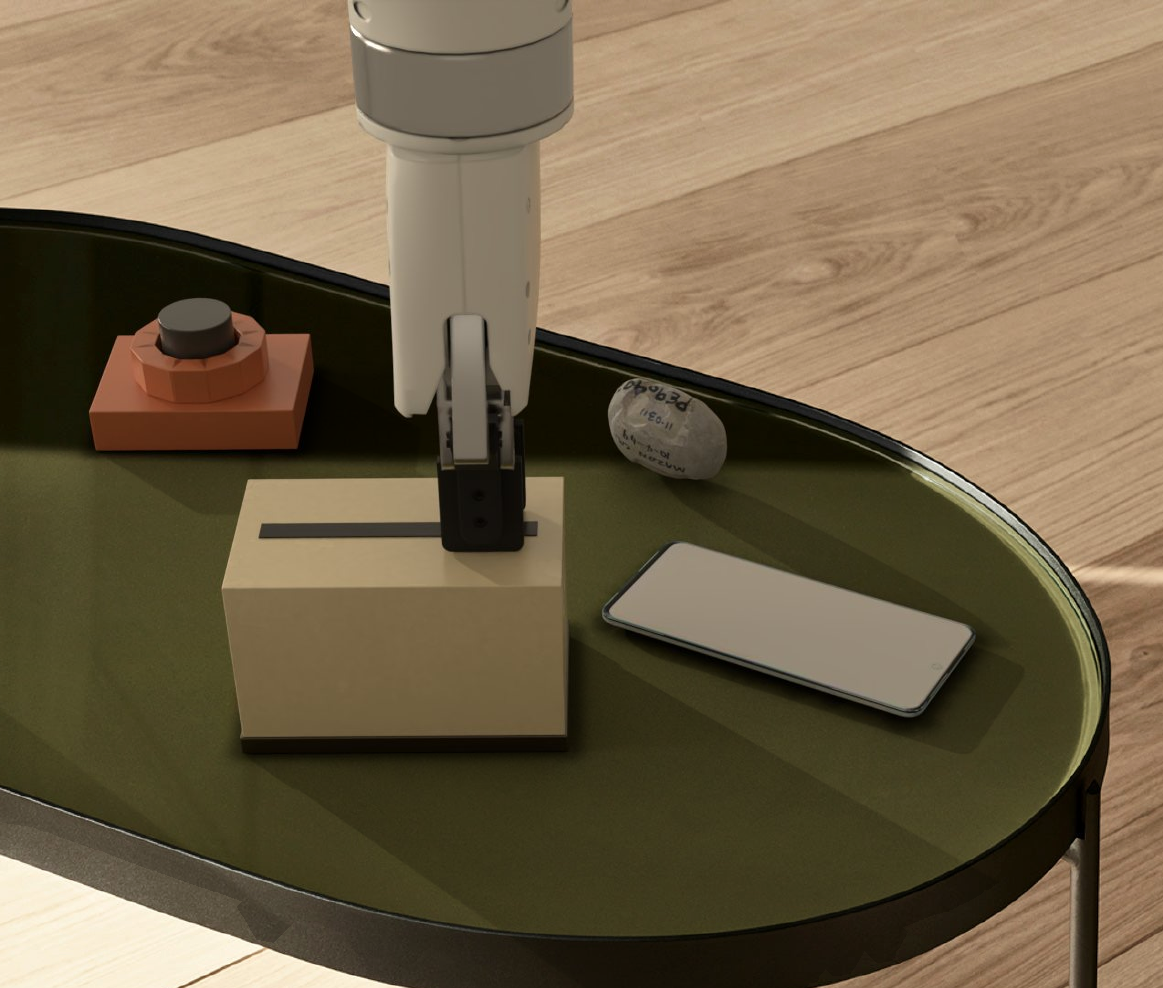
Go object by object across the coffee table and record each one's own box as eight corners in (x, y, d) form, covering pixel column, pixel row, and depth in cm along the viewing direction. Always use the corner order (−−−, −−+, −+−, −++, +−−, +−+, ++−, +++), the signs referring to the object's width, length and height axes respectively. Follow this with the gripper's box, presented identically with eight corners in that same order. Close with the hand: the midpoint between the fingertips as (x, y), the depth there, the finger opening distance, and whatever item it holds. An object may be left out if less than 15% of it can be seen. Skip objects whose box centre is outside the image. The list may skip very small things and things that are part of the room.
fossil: (740, 480, 101) (743, 387, 98) (706, 513, 99) (708, 419, 96) (624, 446, 104) (624, 355, 101) (589, 477, 102) (587, 385, 98)
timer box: (95, 451, 104) (82, 379, 102) (123, 373, 110) (111, 303, 108) (297, 449, 104) (289, 377, 101) (314, 371, 110) (306, 301, 108)
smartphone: (671, 537, 96) (980, 628, 90) (670, 547, 97) (979, 638, 91) (596, 613, 92) (917, 714, 86) (596, 623, 92) (916, 725, 86)
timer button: (157, 363, 104) (152, 331, 102) (168, 329, 106) (163, 297, 105) (230, 363, 103) (225, 330, 102) (239, 329, 106) (235, 297, 105)
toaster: (242, 754, 85) (217, 588, 80) (266, 636, 92) (245, 476, 87) (567, 751, 85) (564, 585, 80) (569, 634, 92) (566, 473, 86)
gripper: (372, -10, 78) (404, 428, 90) (330, 165, 66) (373, 647, 77) (575, -12, 78) (580, 427, 89) (571, 164, 65) (578, 646, 77)
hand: (484, 525), depth 83 cm, fingers closed
